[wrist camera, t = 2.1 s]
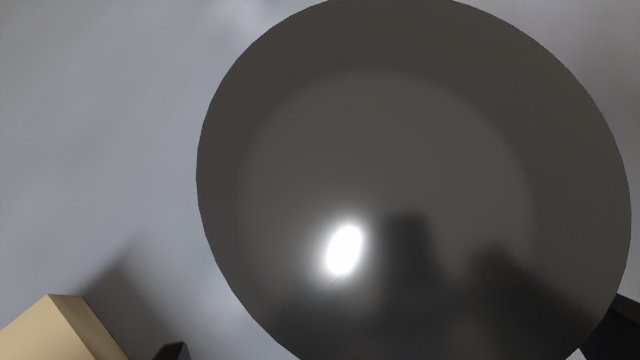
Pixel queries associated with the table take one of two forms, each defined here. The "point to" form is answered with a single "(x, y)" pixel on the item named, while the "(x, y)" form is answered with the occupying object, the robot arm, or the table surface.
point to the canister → (412, 187)
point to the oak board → (58, 333)
